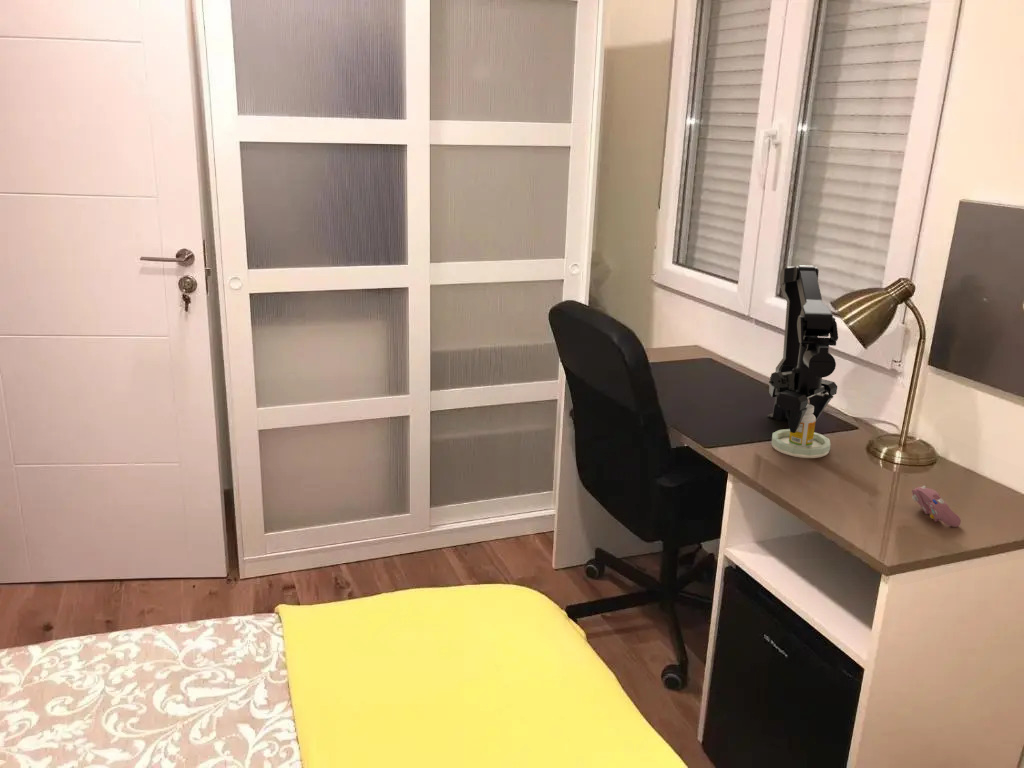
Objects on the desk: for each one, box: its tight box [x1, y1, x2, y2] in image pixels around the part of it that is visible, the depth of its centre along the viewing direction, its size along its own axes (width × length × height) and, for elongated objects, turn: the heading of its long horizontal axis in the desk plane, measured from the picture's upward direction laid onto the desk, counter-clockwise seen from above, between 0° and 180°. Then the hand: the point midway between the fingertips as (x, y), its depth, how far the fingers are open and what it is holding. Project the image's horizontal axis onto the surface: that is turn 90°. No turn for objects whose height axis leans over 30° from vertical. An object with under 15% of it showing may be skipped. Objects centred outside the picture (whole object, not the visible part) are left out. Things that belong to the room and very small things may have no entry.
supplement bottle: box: [789, 403, 817, 448], centre depth 195 cm, size 5×5×10 cm
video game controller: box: [911, 485, 962, 528], centre depth 162 cm, size 10×5×7 cm, turn 5°
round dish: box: [771, 428, 831, 459], centre depth 196 cm, size 13×13×2 cm
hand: (802, 427), depth 195 cm, fingers open, 9 cm apart
